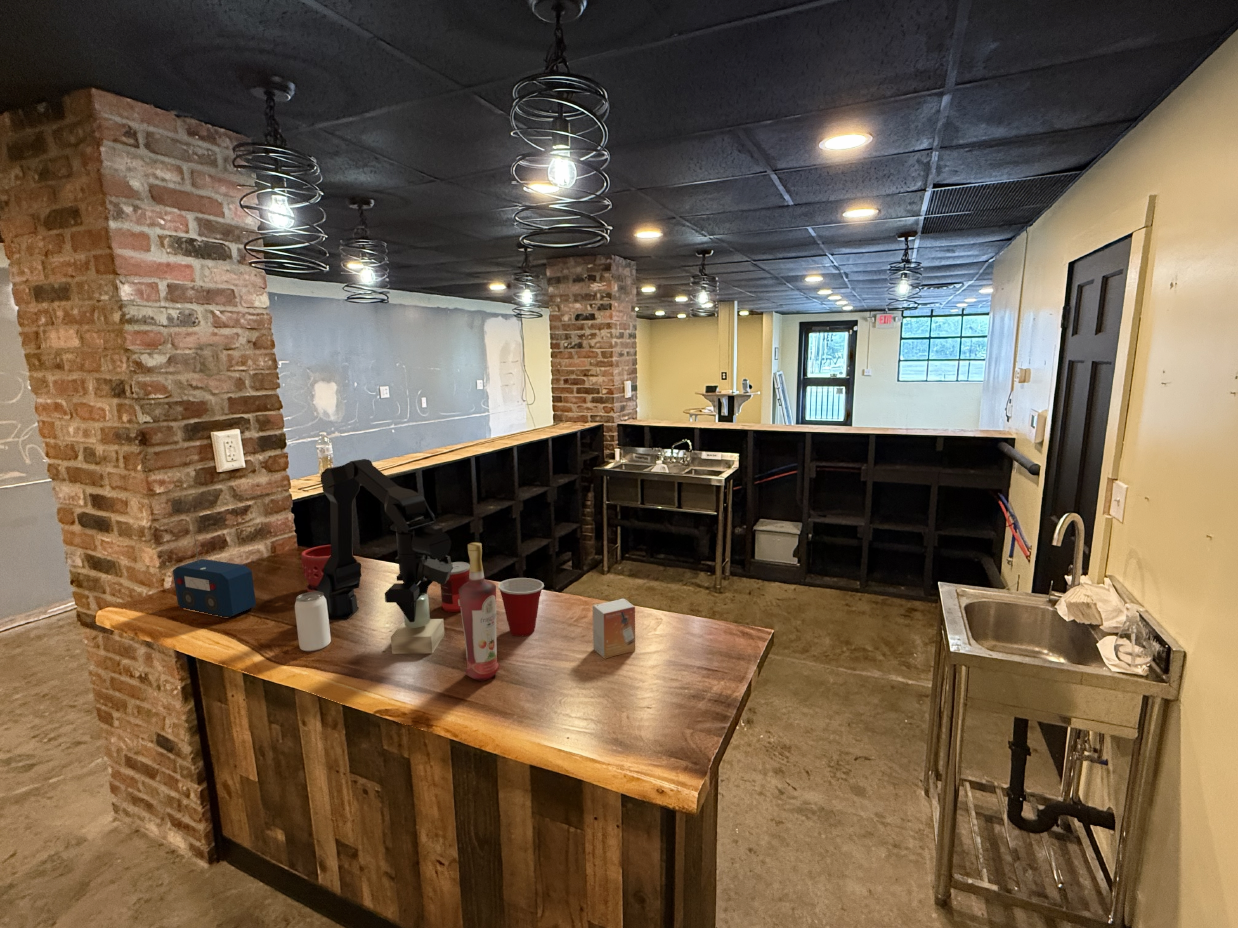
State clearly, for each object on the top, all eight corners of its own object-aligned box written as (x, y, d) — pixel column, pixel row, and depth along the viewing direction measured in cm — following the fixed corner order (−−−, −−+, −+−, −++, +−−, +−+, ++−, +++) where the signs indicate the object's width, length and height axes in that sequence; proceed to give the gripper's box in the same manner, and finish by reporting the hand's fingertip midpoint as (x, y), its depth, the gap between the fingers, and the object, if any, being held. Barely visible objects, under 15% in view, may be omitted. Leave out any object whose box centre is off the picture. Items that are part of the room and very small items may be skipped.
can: (337, 640, 139) (332, 592, 137) (315, 653, 133) (309, 603, 131) (315, 637, 141) (310, 589, 139) (293, 649, 135) (286, 599, 133)
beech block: (392, 653, 132) (390, 636, 132) (406, 635, 141) (405, 619, 140) (432, 653, 132) (431, 636, 131) (444, 634, 141) (443, 618, 140)
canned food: (476, 600, 161) (474, 561, 159) (466, 612, 153) (463, 572, 151) (449, 599, 162) (446, 561, 160) (437, 612, 154) (434, 571, 152)
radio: (173, 611, 158) (161, 538, 154) (205, 598, 166) (195, 529, 162) (228, 622, 150) (217, 546, 147) (259, 608, 158) (250, 536, 155)
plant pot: (343, 598, 164) (338, 556, 162) (296, 599, 164) (291, 557, 162) (363, 581, 177) (360, 542, 175) (320, 581, 177) (315, 542, 175)
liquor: (483, 688, 118) (474, 552, 113) (457, 678, 121) (447, 546, 117) (508, 671, 124) (501, 542, 119) (482, 662, 128) (474, 537, 123)
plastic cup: (555, 629, 142) (553, 582, 140) (519, 646, 135) (516, 595, 133) (527, 617, 150) (524, 571, 148) (491, 631, 142) (488, 584, 140)
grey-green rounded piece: (400, 627, 133) (398, 602, 132) (409, 617, 138) (407, 592, 137) (425, 627, 133) (423, 602, 132) (433, 616, 138) (431, 592, 137)
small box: (603, 659, 128) (602, 613, 126) (592, 648, 133) (591, 604, 131) (636, 650, 131) (635, 606, 130) (624, 640, 136) (623, 597, 135)
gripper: (434, 564, 123) (439, 634, 126) (458, 537, 142) (462, 599, 145) (380, 565, 124) (387, 635, 126) (412, 538, 142) (417, 599, 145)
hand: (416, 616), depth 135 cm, fingers closed on grey-green rounded piece, 5 cm apart
